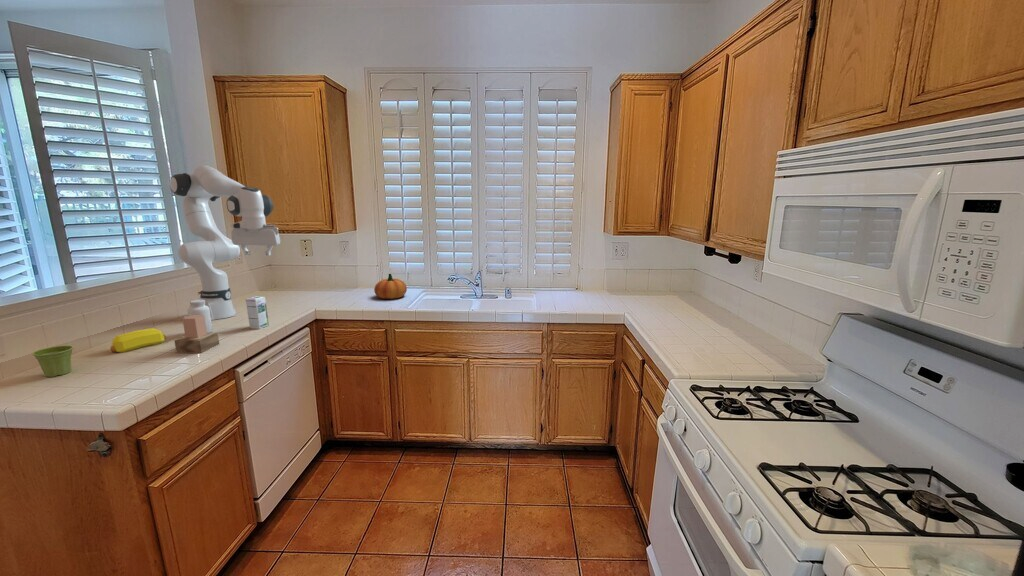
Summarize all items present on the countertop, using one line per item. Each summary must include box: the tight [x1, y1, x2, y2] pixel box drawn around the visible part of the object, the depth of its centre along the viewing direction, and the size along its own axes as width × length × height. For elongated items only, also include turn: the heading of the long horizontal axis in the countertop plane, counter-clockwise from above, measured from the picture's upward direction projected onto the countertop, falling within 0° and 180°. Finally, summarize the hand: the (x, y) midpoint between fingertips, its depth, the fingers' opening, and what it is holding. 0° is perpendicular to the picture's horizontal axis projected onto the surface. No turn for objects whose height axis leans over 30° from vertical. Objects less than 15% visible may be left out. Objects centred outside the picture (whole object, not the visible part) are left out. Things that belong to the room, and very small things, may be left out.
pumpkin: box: [373, 273, 408, 300], centre depth 256 cm, size 19×19×15 cm
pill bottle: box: [186, 299, 213, 333], centre depth 184 cm, size 8×8×15 cm
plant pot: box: [31, 345, 74, 378], centre depth 141 cm, size 9×9×9 cm
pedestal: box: [174, 332, 220, 354], centre depth 166 cm, size 10×10×5 cm
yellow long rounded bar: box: [109, 327, 167, 353], centre depth 168 cm, size 18×7×8 cm
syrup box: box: [245, 295, 270, 330], centre depth 194 cm, size 6×6×14 cm
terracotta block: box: [182, 315, 207, 338], centre depth 165 cm, size 5×5×8 cm
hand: (258, 255), depth 186 cm, fingers open, 8 cm apart
